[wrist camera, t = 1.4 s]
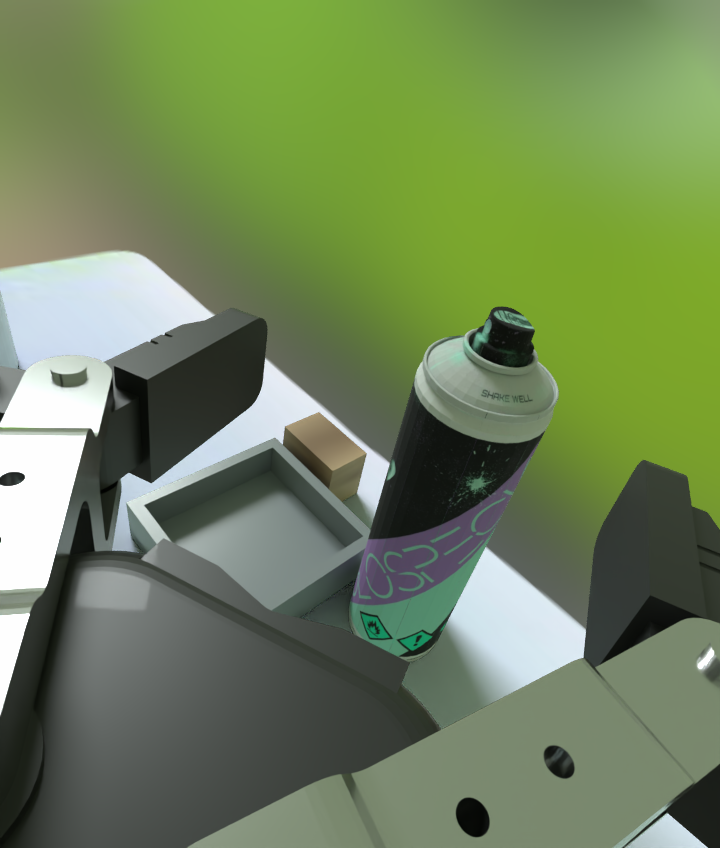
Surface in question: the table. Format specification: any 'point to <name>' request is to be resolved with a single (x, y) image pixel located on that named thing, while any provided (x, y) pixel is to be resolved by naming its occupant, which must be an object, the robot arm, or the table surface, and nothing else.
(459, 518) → the spray can
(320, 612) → the table surface
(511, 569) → the table surface
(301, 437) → the chock block
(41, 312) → the table surface
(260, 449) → the tray
